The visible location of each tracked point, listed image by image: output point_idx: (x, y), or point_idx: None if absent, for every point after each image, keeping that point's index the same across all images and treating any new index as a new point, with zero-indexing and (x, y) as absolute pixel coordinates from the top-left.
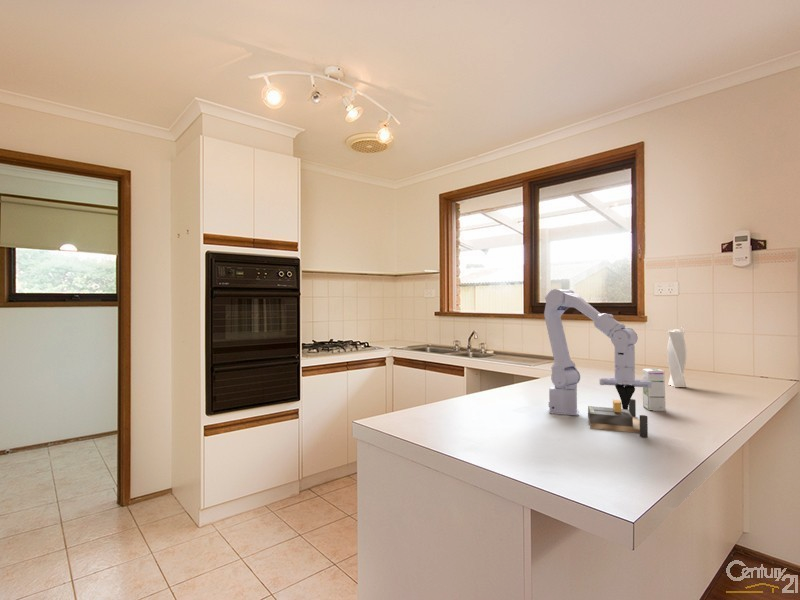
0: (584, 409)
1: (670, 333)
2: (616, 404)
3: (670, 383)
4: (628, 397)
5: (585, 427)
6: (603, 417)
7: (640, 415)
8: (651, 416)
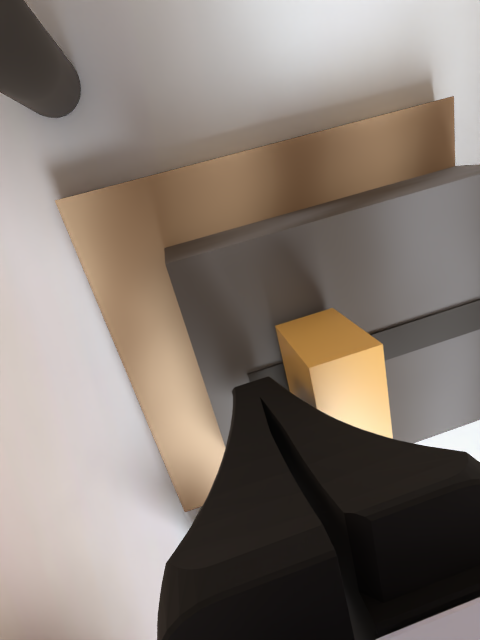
0: None
1: None
2: (350, 343)
3: None
4: (250, 457)
5: (465, 106)
6: (395, 192)
7: (7, 23)
8: (130, 614)
